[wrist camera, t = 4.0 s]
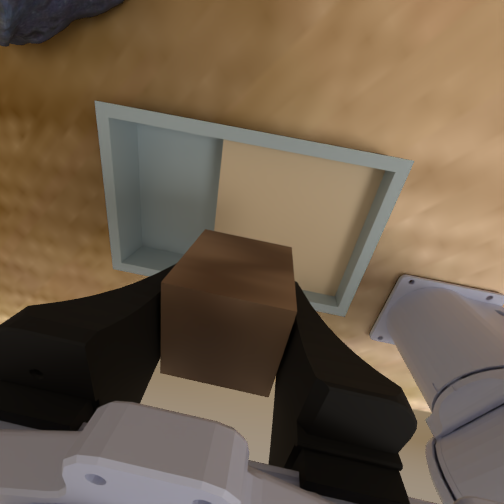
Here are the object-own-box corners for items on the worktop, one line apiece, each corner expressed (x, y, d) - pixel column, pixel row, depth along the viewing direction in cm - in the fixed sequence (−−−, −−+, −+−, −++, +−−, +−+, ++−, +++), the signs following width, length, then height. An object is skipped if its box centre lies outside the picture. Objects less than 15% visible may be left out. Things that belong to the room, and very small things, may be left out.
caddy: (388, 155, 18) (414, 161, 14) (335, 289, 24) (344, 316, 20) (130, 107, 19) (94, 100, 15) (138, 249, 24) (113, 268, 21)
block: (291, 247, 12) (297, 311, 8) (272, 314, 14) (268, 397, 10) (205, 229, 12) (161, 282, 8) (198, 298, 14) (160, 373, 10)
